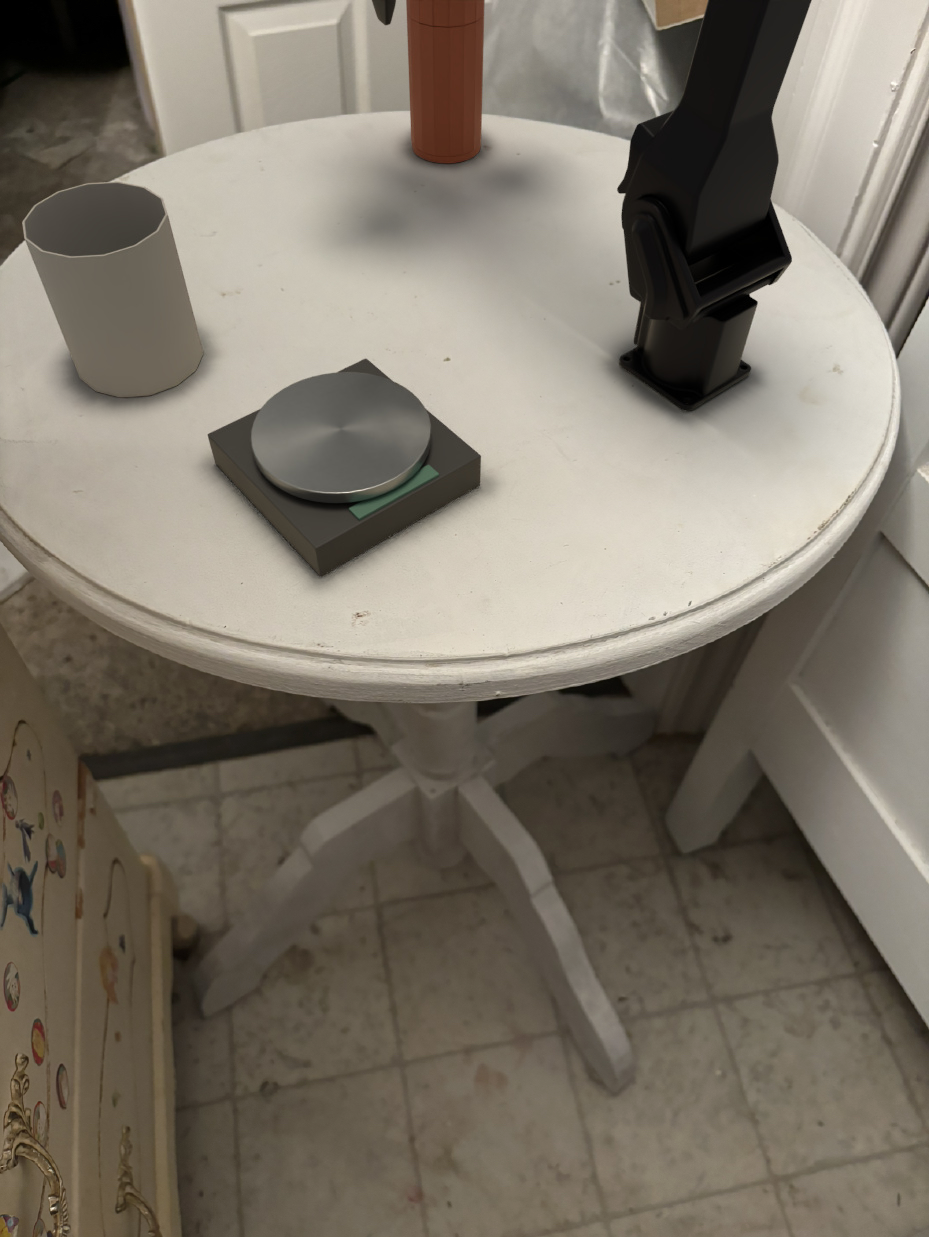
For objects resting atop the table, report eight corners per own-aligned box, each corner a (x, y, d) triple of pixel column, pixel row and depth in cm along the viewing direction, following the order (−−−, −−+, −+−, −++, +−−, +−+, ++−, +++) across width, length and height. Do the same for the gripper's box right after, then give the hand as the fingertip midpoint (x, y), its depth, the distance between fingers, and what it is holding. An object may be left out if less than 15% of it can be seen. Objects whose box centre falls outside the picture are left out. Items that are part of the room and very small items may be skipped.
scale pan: (467, 449, 54) (467, 438, 53) (317, 532, 50) (315, 521, 49) (363, 360, 59) (362, 350, 58) (219, 429, 55) (216, 419, 54)
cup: (52, 380, 62) (-8, 241, 54) (118, 310, 66) (72, 172, 58) (165, 408, 60) (120, 269, 52) (224, 334, 65) (192, 196, 57)
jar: (494, 149, 81) (500, -15, 71) (440, 171, 79) (438, 4, 69) (451, 123, 84) (451, -39, 74) (398, 143, 81) (390, -21, 71)
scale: (480, 485, 56) (481, 452, 54) (320, 577, 52) (314, 546, 50) (368, 387, 62) (365, 354, 59) (215, 463, 57) (205, 431, 55)
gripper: (499, -358, 58) (474, -72, 71) (234, -327, 51) (261, -17, 65) (616, -294, 54) (567, -4, 67) (346, -252, 47) (350, 62, 61)
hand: (438, 6), depth 65 cm, fingers open, 9 cm apart
